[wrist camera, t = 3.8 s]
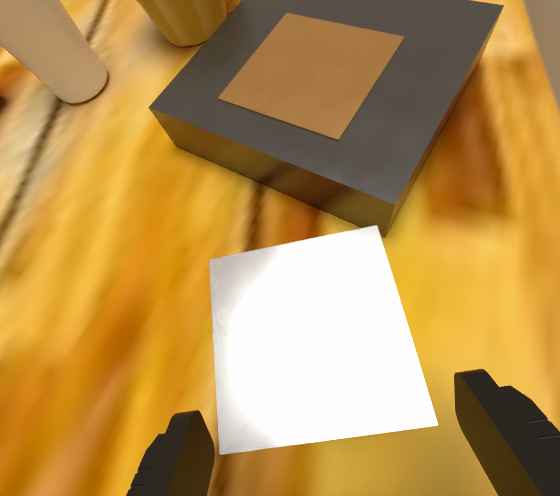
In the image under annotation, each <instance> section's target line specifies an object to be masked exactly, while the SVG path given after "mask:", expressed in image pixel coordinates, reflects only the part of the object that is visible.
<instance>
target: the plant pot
mask: <svg viewBox="0 0 560 496" xmlns="http://www.w3.org/2000/svg"><path fill="white" fill-rule="evenodd" d="M137 1H138V2H139V4H140V5H141V6H142V8H143V9H144V10H145V11H146V13H147V14H148V15H149V17H150V18H151V19H152V21H153V22H154V23H155V24H156V26H157V27H158V28H159V30H160V31H161V32H162V33H163V35H164V36H165V37H166V39H167V40H168V41H169V42H170V43H172V44H174V45H176V46H180V47H188V46H194V45H198V44H201V43H203V42H205V41H207V40H208V39H209V38H210V37H211V36H212V34H213V33H214V32H215V31H216V30H217V29H218V28H219V26H220V25H221V24H222V23H223V22H224V21H225V19H226V18H227V9H226V1H225V0H137Z"/></svg>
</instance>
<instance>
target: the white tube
mask: <svg viewBox="0 0 560 496" xmlns="http://www.w3.org/2000/svg"><path fill="white" fill-rule="evenodd" d="M0 45H1V46H2V47H3V48H4V49H5V50H7V51H8V52H9V53H10V54H11V55H12V56H13V57H15V58H16V59H17V60H18V61H19V62H20V63H21V64H23V65H24V66H25V67H26V68H27V69H28V70H29V71H31V72H32V73H33V74H34V75H35V76H36V77H37V78H38V79H40V80H41V81H42V82H43V83H44V84H45V85H46V86H47V87H48V88H49V89H50V90H51V91H52V92H53V93H54V94H55V95H56V96H57V97H58V98H60V99H61V100H63V101H65V102H67V103H81V102H84V101H87V100H89V99H91V98H92V97H94V96H95V95H97V94H98V93H99V92H100V91H101V90H102V88H103V87H104V85H105V83H106V80H107V71H106V68H105V66H104V65H103V63H102V62H101V61H100V59H99V58H98V57H97V55H96V54H95V53H94V51H93V50H92V49H91V47H90V46H89V44H88V43H87V41H86V40H85V38H84V37H83V35H82V34H81V32H80V31H79V29H78V27H77V26H76V24H75V23H74V21H73V20H72V18H71V17H70V15H69V14H68V12H67V11H66V9H65V8H64V6H63V5H62V3H61V1H60V0H0Z"/></svg>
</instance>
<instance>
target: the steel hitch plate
mask: <svg viewBox="0 0 560 496" xmlns="http://www.w3.org/2000/svg"><path fill="white" fill-rule="evenodd" d="M503 7H504V5H497V4H490V3H484V2H477V1H470V0H242V1H241V2H240V3H239V5H238V6H237V7H236V8H235V9H234V10H233V11H232V13H231V14H230V15H229V16H228V17H227V18H226V19H225V21H224V22H223V23H222V24H221V25H220V26H219V28H218V29H217V30H216V31H215V32H214V33H213V34H212V36H211V37H210V38H209V39H208V40H207V41H206V42H205V44H204V45H203V46H202V47H201V48H200V49H199V50H198V52H197V53H196V54H195V55H194V56H193V57H192V58H191V60H190V61H189V62H188V63H187V64H186V65H185V66H184V68H183V69H182V70H181V71H180V72H179V73H178V74H177V76H176V77H175V78H174V79H173V80H172V81H171V82H170V84H169V85H168V86H167V87H166V88H165V89H164V90H163V92H162V93H161V94H160V95H159V96H158V97H157V98H156V100H155V101H154V102H153V103H152V104H151V105H150V106H149V109H150V110H151V111H152V113H153V114H154V116H155V117H156V119H157V120H158V121H159V123H160V124H161V126H162V127H163V128H164V130H165V131H166V133H167V134H168V135H169V137H170V138H171V140H172V141H173V143H174V144H175V145H176V146H177V147H179V148H182V149H184V150H186V151H189V152H191V153H193V154H195V155H198V156H200V157H202V158H205V159H207V160H209V161H211V162H214V163H216V164H218V165H221V166H223V167H225V168H227V169H230V170H232V171H234V172H237V173H239V174H241V175H243V176H246V177H248V178H250V179H253V180H255V181H257V182H259V183H262V184H264V185H266V186H268V187H271V188H273V189H275V190H278V191H280V192H282V193H284V194H287V195H289V196H291V197H294V198H296V199H298V200H300V201H303V202H305V203H307V204H310V205H312V206H314V207H316V208H319V209H321V210H323V211H326V212H328V213H330V214H332V215H335V216H337V217H339V218H342V219H344V220H346V221H348V222H351V223H353V224H355V225H358V226H360V227H362V228H365V227H370V226H375V225H377V227H378V230H379V233H380V236H383V237H385V236H386V235H387V233H388V231H389V229H390V227H391V225H392V223H393V222H394V220H395V218H396V216H397V214H398V212H399V210H400V209H401V207H402V205H403V203H404V201H405V199H406V197H407V196H408V194H409V192H410V190H411V188H412V186H413V184H414V183H415V181H416V179H417V177H418V175H419V173H420V171H421V170H422V168H423V166H424V164H425V162H426V160H427V158H428V156H429V155H430V153H431V151H432V149H433V147H434V145H435V143H436V142H437V140H438V138H439V136H440V134H441V132H442V130H443V129H444V127H445V125H446V123H447V121H448V119H449V117H450V116H451V114H452V112H453V110H454V108H455V106H456V104H457V103H458V101H459V99H460V97H461V95H462V93H463V91H464V90H465V88H466V86H467V84H468V82H469V80H470V78H471V77H472V75H473V73H474V71H475V69H476V67H477V65H478V63H479V61H480V59H481V57H482V54H483V52H484V50H485V48H486V45H487V43H488V41H489V38H490V36H491V34H492V32H493V29H494V27H495V25H496V23H497V20H498V18H499V16H500V13H501V11H502V9H503Z"/></svg>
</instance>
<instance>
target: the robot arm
mask: <svg viewBox="0 0 560 496" xmlns="http://www.w3.org/2000/svg"><path fill="white" fill-rule="evenodd" d="M454 387H455V411H456V416H457V419H458V422H459V425H460V427H461V430H462V432H463V433H464V435H465V437H466V439H467V441H468V442H469V444H470V446H471V448H472V450H473V451H474V453H475V455H476V457H477V458H478V460H479V462H480V464H481V466H482V467H483V469H484V471H485V473H486V474H487V476H488V478H489V480H490V482H491V483H492V485H493V487H494V489H495V490H496V492H497V494H498V496H560V432H559V431H558V429H557V428H556V427H555V426H554V425H553V424H552V423H551V422H549V421H548V419H547V417H546V416H545V415H544V413H543V412H542V411H541V410H540V409H539V408H538V407H537V405H536V404H535V403H534V402H533V401H532V400H531V399H530V398H528V397H527V396H525V395H524V394H522V393H521V392H519V391H518V390H516V389H515V388H513V387H512V386H503V387H499V386H498V385H497V384H496V383H495V381H494V380H493V379H492V378H491V376H490V375H489V374H488V373H487V372H486V371H485V370H484V369H478V370H471V371H464V372H457V373H455V375H454ZM214 459H215V449H214V443H213V440H212V438H211V435H210V433H209V431H208V429H207V426H206V424H205V422H204V419H203V417H202V415H201V413H200V411H198V410H196V411H189V412H182V413H176V414H174V415H173V416H172V418H171V420H170V423H169V425H168V428H167V430H166V433H165V434H159V435H158V436H157V437H156V439H155V440H154V441H153V442H152V444H151V445H150V446H149V448H148V449H147V450H146V452H145V454H144V456H143V458H142V461H141V463H140V465H139V468H138V473H137V474H135V477H134V479H133V481H132V484H131V489H130V490H128V493H127V495H126V496H207V493H208V488H209V484H210V479H211V475H212V470H213V466H214Z"/></svg>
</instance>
